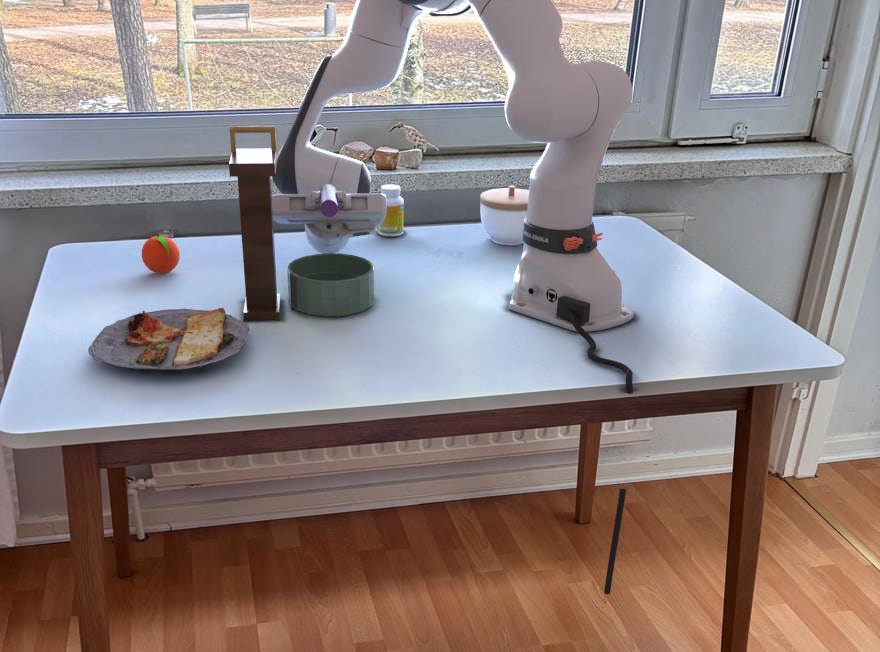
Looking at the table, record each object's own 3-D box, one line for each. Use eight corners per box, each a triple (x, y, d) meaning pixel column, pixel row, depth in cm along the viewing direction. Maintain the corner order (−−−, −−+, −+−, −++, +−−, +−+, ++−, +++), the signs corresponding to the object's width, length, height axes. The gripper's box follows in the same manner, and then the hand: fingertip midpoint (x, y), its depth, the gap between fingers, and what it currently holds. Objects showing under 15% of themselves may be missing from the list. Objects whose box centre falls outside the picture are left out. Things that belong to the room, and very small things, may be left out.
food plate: (121, 318, 168) (118, 298, 166) (259, 321, 167) (257, 301, 165) (74, 381, 146) (70, 359, 144) (233, 385, 146) (231, 363, 144)
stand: (243, 301, 175) (230, 123, 160) (284, 300, 176) (275, 123, 160) (239, 322, 167) (226, 137, 151) (283, 321, 167) (273, 137, 152)
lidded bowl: (474, 247, 203) (477, 192, 197) (480, 229, 213) (483, 177, 208) (537, 251, 201) (542, 196, 195) (540, 233, 212) (544, 180, 206)
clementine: (189, 276, 186) (186, 238, 182) (154, 283, 182) (150, 244, 179) (172, 264, 191) (168, 227, 188) (138, 270, 188) (133, 233, 184)
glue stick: (320, 200, 171) (319, 184, 170) (336, 200, 172) (336, 184, 170) (320, 217, 161) (320, 199, 160) (338, 217, 162) (337, 199, 160)
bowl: (390, 307, 173) (390, 271, 170) (316, 324, 166) (315, 287, 163) (345, 282, 184) (344, 248, 180) (274, 298, 176) (272, 262, 173)
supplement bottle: (403, 237, 208) (403, 190, 203) (377, 237, 208) (377, 189, 203) (403, 229, 212) (404, 183, 207) (378, 229, 212) (378, 183, 207)
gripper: (269, 199, 179) (265, 177, 166) (383, 198, 181) (388, 177, 167) (270, 234, 179) (266, 215, 166) (384, 233, 181) (389, 214, 167)
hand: (328, 196), depth 166 cm, fingers closed on glue stick, 3 cm apart
